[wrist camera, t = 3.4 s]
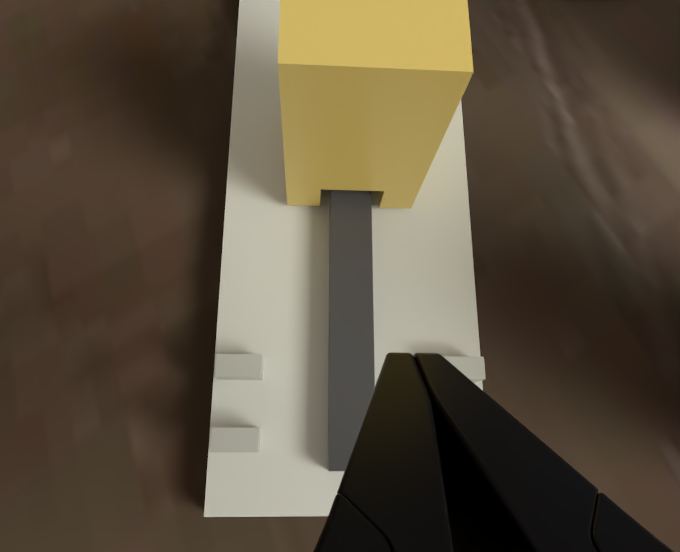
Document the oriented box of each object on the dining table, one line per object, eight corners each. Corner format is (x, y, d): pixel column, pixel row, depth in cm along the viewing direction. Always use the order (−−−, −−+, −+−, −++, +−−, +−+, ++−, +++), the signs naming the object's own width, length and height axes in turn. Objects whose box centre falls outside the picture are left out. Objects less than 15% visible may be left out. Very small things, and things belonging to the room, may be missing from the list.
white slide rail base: (481, 510, 20) (555, 538, 14) (209, 512, 20) (169, 542, 14) (439, -97, 29) (473, -234, 23) (250, -109, 28) (236, -253, 23)
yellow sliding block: (412, 208, 22) (475, 72, 14) (285, 205, 22) (275, 63, 14) (407, 102, 24) (462, -78, 15) (289, 97, 23) (282, -88, 15)
